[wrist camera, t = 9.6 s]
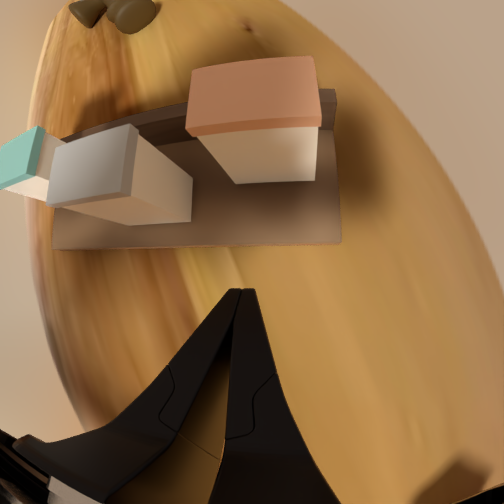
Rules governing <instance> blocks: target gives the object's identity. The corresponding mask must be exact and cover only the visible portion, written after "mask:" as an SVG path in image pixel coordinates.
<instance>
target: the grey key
mask: <svg viewBox="0 0 504 504" xmlns="http://www.w3.org/2000/svg"><path fill="white" fill-rule="evenodd" d="M192 186H193V178H192V177H191V176H190V175H188V174H187V173H186V172H185V171H183V170H182V169H181V168H180V167H179V166H177V165H176V164H175V163H174V162H172V161H171V160H170V159H169V158H167V157H166V156H165V155H164V154H163V153H161V152H160V151H159V150H158V149H156V148H155V147H154V146H153V145H151V144H150V143H149V142H148V141H146V140H145V139H144V138H143V137H141V136H140V135H139V130H138V129H136V128H135V127H134V126H133V125H131V124H126V125H123V126H119V127H115V128H112V129H109V130H105V131H102V132H99V133H96V134H93V135H90V136H87V137H84V138H81V139H78V140H75V141H72V142H69V143H67V144H64V145H61V146H59V147H56V148H55V153H54V158H53V163H52V168H51V173H50V179H49V185H48V191H47V199H46V206H50V207H54V208H60V207H62V208H66V209H70V210H73V211H77V212H80V213H84V214H88V215H91V216H95V217H98V218H102V219H106V220H109V221H113V222H117V223H120V224H124V225H128V226H133V225H147V224H163V223H179V222H191V210H192Z"/></svg>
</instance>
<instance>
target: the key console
mask: <svg viewBox="0 0 504 504" xmlns="http://www.w3.org/2000/svg"><path fill="white" fill-rule="evenodd" d="M318 92H319V99H320V106H321V114H322V120H321V127H318V140H317V156H316V170H315V181H286V182H263V183H246V184H235V183H234V181H233V180H232V179H231V178H230V176H229V175H228V174H227V173H226V172H225V170H224V169H223V168H222V167H221V165H220V164H219V163H218V162H217V161H216V159H215V158H214V157H213V156H212V154H211V153H210V152H209V151H208V150H207V148H206V147H205V146H204V145H203V144H202V142H201V141H200V140H199V139H198V138H197V136H196V137H192V136H191V135H190V133H189V132H188V131H187V130H186V129H185V126H186V117H187V108H188V102H186V103H181V104H176V105H171V106H167V107H162V108H158V109H154V110H150V111H146V112H142V113H138V114H134V115H131V116H127V117H124V118H120V119H117V120H114V121H110V122H107V123H104V124H101V125H98V126H95V127H92V128H89V129H86V130H83V131H81V132H78V133H75V134H72V135H70V136H67V137H65V138H62V139H60V140H61V141H63V142H65V143H69V142H72V141H75V140H78V139H81V138H84V137H87V136H90V135H93V134H96V133H99V132H102V131H105V130H109V129H112V128H115V127H119V126H123V125H126V124H131V125H133V126H134V127H135V128H136V129H138V130H139V135H140V136H141V137H143V138H144V139H145V140H146V141H148V142H149V143H150V144H151V145H153V146H154V147H155V148H156V149H158V150H159V151H160V152H161V153H163V154H164V155H165V156H166V157H167V158H169V159H170V160H171V161H172V162H174V163H175V164H176V165H177V166H179V167H180V168H181V169H182V170H183V171H185V172H186V173H187V174H188V175H190V176H191V177H192V178H193V186H192V210H191V222H179V223H163V224H147V225H133V226H128V225H124V224H120V223H117V222H113V221H109V220H106V219H102V218H98V217H95V216H91V215H88V214H84V213H80V212H77V211H73V210H70V209H66V208H62V207H60V208H55V211H54V221H53V234H52V250H60V251H71V250H106V249H144V248H186V247H232V246H284V245H339V244H340V243H341V242H342V239H341V216H340V199H339V185H338V173H337V162H336V152H335V143H334V134H333V126H334V120H335V113H336V106H337V99H336V93H335V89H318Z"/></svg>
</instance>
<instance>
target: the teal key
mask: <svg viewBox="0 0 504 504" xmlns="http://www.w3.org/2000/svg"><path fill="white" fill-rule="evenodd" d="M45 131H46V130H45V129H43V128H41V127H40V126H36V127H34V128H32V129H30V130H28V131H26V132H25V133H23V134H21V135H19V136H18V137H16V138H14V139H13V140H11V141H9V142H8V143H6V144H4V145H3V146H2V147H1V150H0V190H1V189H4V190H7V191H11V192H14V193H18V194H21V195H25V196H28V197H32V198H35V199H39V200H42V201H46V199H47V191H48V185H49V179H50V173H51V168H52V163H53V158H54V153H55V148H56V147H59V146H61V145H64V144H67V143H65V142H63V141H61V140H60V139H58V138H56V137H54V136H52V135H50V134H48V133H46V132H45Z"/></svg>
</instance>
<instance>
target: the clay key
mask: <svg viewBox="0 0 504 504" xmlns="http://www.w3.org/2000/svg"><path fill="white" fill-rule="evenodd" d="M321 120H322V114H321V106H320V99H319V92H318V85H317V78H316V72H315V65H314V60H313V56H293V57H276V58H265V59H255V60H246V61H238V62H231V63H225V64H219V65H213V66H207V67H202V68H197V69H193V70H192V77H191V84H190V91H189V99H188V108H187V117H186V126H185V129H186V130H187V131H188V132H189V133H190V135H191V136H192V137H196V136H197V138H198V139H199V140H200V141H201V142H202V144H203V145H204V146H205V147H206V148H207V150H208V151H209V152H210V153H211V154H212V156H213V157H214V158H215V159H216V161H217V162H218V163H219V164H220V165H221V167H222V168H223V169H224V170H225V172H226V173H227V174H228V175H229V176H230V178H231V179H232V180H233V181H234V183H235V184H246V183H263V182H286V181H315V170H316V156H317V140H318V127H321Z"/></svg>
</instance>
